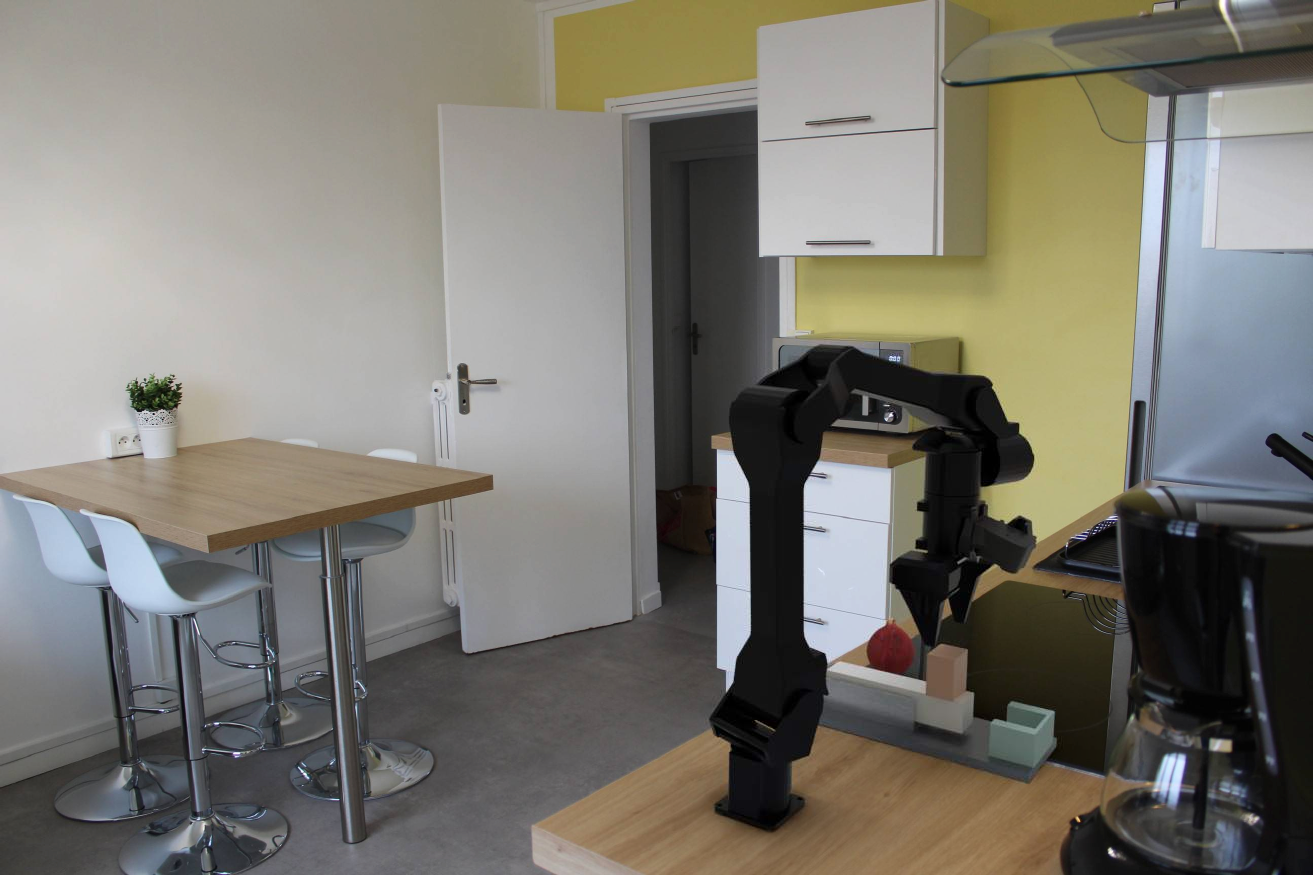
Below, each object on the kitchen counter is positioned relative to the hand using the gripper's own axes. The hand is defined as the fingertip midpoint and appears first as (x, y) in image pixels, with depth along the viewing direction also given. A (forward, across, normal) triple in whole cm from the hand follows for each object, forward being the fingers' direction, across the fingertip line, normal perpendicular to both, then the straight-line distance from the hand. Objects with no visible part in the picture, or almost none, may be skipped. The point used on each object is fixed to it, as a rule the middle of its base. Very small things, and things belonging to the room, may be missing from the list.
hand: (945, 633), depth 109 cm
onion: (+12, +12, +11) cm, 20 cm away
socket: (+12, 0, -9) cm, 15 cm away
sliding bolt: (+10, 0, +5) cm, 11 cm away
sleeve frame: (+12, 0, +2) cm, 12 cm away
